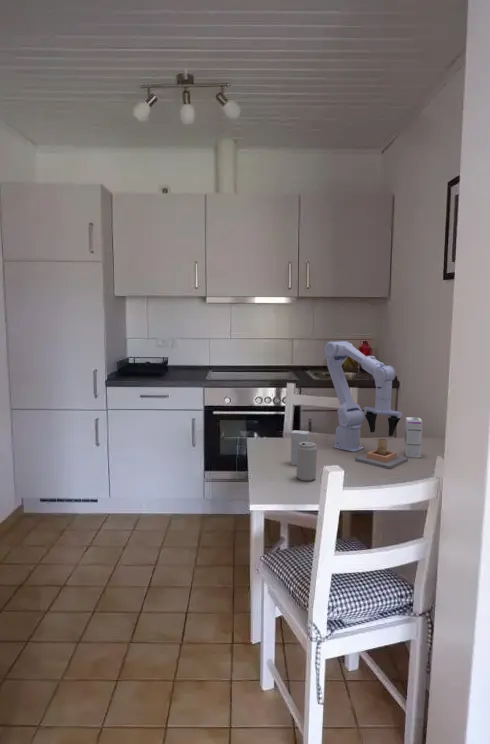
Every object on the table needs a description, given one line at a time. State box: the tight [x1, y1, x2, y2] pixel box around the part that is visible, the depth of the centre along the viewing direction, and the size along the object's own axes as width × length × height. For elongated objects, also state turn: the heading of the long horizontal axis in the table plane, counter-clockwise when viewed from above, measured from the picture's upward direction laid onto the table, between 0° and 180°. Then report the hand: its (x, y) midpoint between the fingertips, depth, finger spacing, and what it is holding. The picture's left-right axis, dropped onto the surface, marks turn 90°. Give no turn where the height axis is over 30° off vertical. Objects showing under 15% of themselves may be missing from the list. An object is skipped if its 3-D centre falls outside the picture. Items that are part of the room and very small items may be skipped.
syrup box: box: [403, 416, 423, 459], centre depth 197 cm, size 6×6×14 cm
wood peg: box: [376, 438, 388, 456], centre depth 190 cm, size 3×3×7 cm
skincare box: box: [290, 429, 311, 466], centre depth 185 cm, size 6×4×12 cm
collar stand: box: [354, 448, 409, 470], centre depth 191 cm, size 14×14×3 cm
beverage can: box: [296, 441, 318, 482], centre depth 169 cm, size 6×6×12 cm
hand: (381, 433), depth 193 cm, fingers open, 7 cm apart
